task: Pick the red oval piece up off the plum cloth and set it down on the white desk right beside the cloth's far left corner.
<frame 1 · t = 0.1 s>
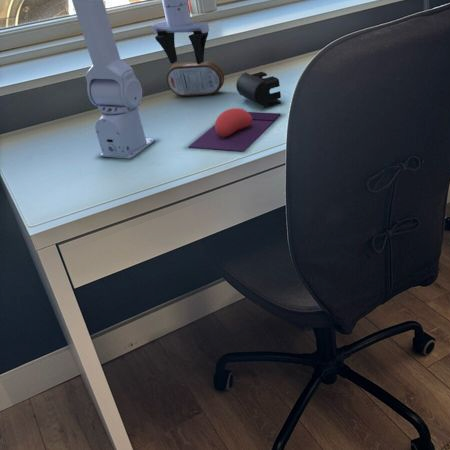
hand: (187, 62, 139), 10 cm above the table, tool pointing down, fingers open, 7 cm apart
tin: (198, 95, 149), on the table
red oval piece: (234, 132, 124), resting on cloth
end cap: (260, 103, 139), on the table
cloth: (236, 130, 125), on the table
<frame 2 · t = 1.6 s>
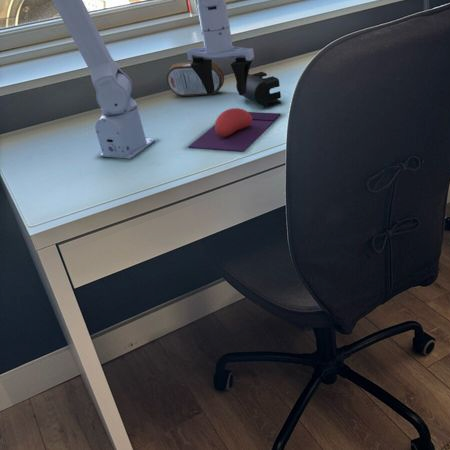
hand: (226, 93, 121), 9 cm above the table, tool pointing down, fingers open, 7 cm apart
nothing on the table moved.
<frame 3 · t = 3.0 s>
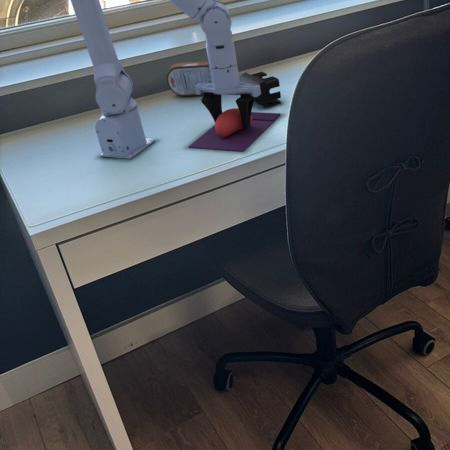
hand: (233, 126, 124), 1 cm above the table, tool pointing down, fingers closed on red oval piece, 6 cm apart
red oval piece: (234, 132, 124), resting on cloth, touching gripper
everything else where it was.
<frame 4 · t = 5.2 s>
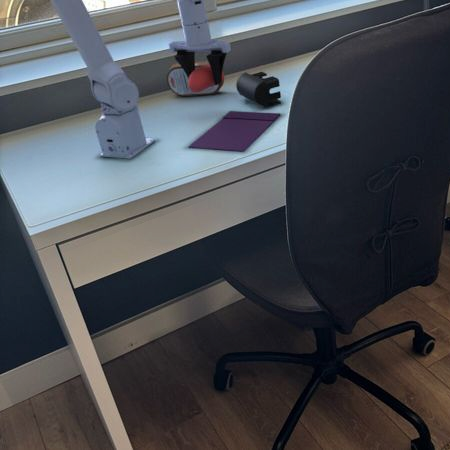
hand: (206, 83, 130), 8 cm above the table, tool pointing down, fingers closed on red oval piece, 6 cm apart
red oval piece: (207, 88, 131), point 7 cm above the table, touching gripper
everything else where it was.
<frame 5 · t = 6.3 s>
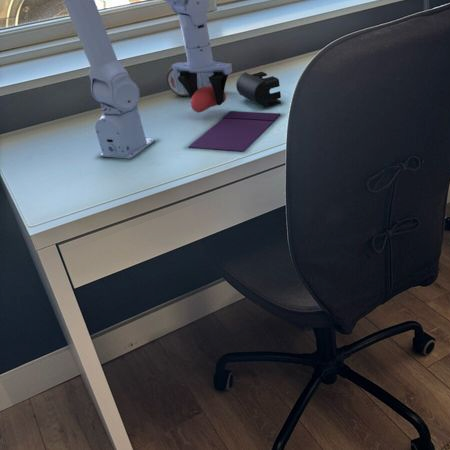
hand: (208, 103, 134), 3 cm above the table, tool pointing down, fingers closed on red oval piece, 6 cm apart
red oval piece: (209, 108, 134), point 2 cm above the table, touching gripper
everything else where it was.
when the fingers open (1 cm above the table, at t = 7.4 s): red oval piece stays where it is, on the table.
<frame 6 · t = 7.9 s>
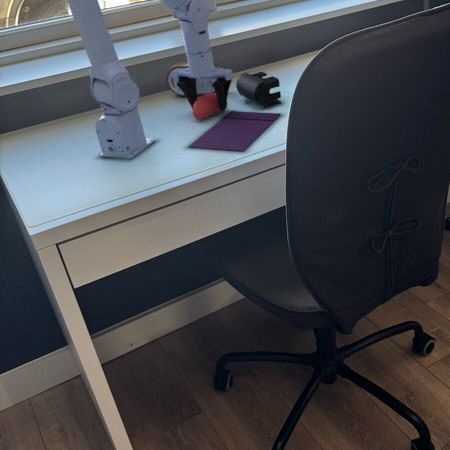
hand: (209, 108, 134), 2 cm above the table, tool pointing down, fingers open, 7 cm apart
red oval piece: (211, 115, 135), on the table
everything else where it was.
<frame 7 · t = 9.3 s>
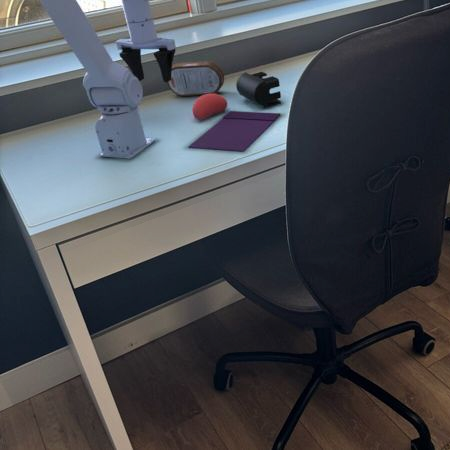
hand: (154, 80, 131), 9 cm above the table, tool pointing down, fingers open, 7 cm apart
nothing on the table moved.
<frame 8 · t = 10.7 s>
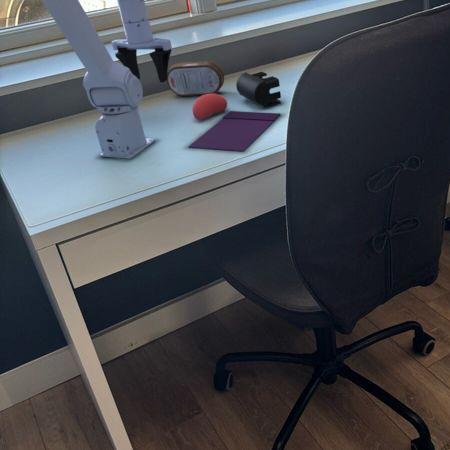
hand: (150, 80, 131), 9 cm above the table, tool pointing down, fingers open, 7 cm apart
nothing on the table moved.
at the end: red oval piece inside the target area (0.8 cm from its centre), on the table; red oval piece touching table; the gripper is holding nothing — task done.
